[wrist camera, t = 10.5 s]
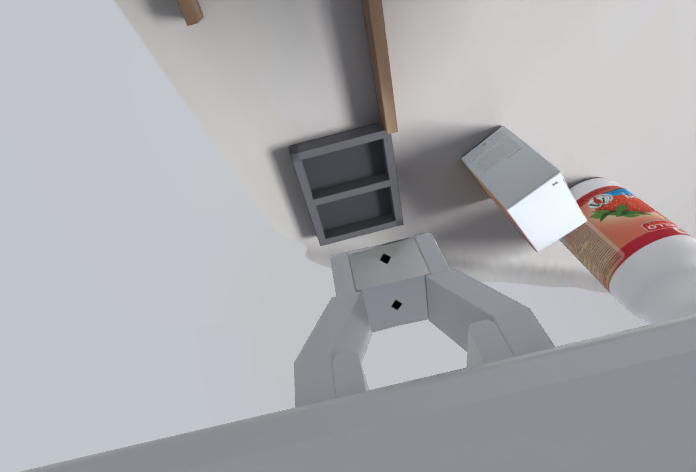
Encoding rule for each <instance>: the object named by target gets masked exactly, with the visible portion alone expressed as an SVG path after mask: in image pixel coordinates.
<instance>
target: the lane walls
mask: <svg viewBox="0 0 696 472" xmlns="http://www.w3.org/2000/svg"><path fill="white" fill-rule="evenodd" d="M177 2H178V4H179V7H180V9H181V11H182V14H183V16H184V18H185V21H186V23H187V26H189V25H192V24H196V23H198V22H199V21H200V20H201V19H202V18H203V17H204V16H203V14H202V11H201V9H200V6H199V3H198V1H197V0H177ZM362 4H363V11H364V17H365V24H366V30H367V37H368V43H369V50H370V56H371V63H372V69H373V76H374V82H375V89H376V96H377V102H378V109H379V115H380V122H381V124H382V126H383V127H384V129H385V131H386V132H387V134H391V133H395V132H398V128H397V120H396V112H395V104H394V96H393V88H392V80H391V72H390V64H389V56H388V48H387V40H386V32H385V24H384V16H383V8H382V0H362Z"/></svg>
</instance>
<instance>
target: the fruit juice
mask: <svg viewBox="0 0 696 472" xmlns="http://www.w3.org/2000/svg"><path fill="white" fill-rule="evenodd" d="M570 191H571V193H572V195H573V197H574V199H575V200H576V202H577V204H578V206H579V208H580V209H581V211H582V213H583V214H584V216H585V217H586V219H587V221H586V222H585V223H583V224H582V225H580V226H579V227H577V228H576V229H574V230H573V231H571V232H569V233H568V234H566V235H565V236H563V237H562V238H560V239H559V240H560V241H561V242H562V243H563V244H564V245H565V246H566V247H567V248H568V249H569V250H570V251H571V253H572V254H573V255H574V256H575V257H576V258H577V259H578V260H579V261H580V262H581V263H582V264H583V265H584V266H585V267H586V268H587V269H588V270H589V271H590V272H591V273H592V275H593V276H594V277H595V278H596V279H597V280H598V281H599V282H600V283H601V284H602V285H603V286H604V287H605V288H606V289H607V290H608V291H609V292H610V294H611V295H612V296H613V297H614V298H615V299H616V300H617V301H618V302H619V303H620V304H621V305H622V306H623V307H625V308H626V309H627V310H628V311H629V312H630V313H632V314H633V315H635V316H637V317H639V318H641V319H643V320H645V321H646V322H647V323H648V324H649V325H651V324H655V323H660V322H664V321H668V320H673V319H677V318H681V317H686V316H690V315H694V314H696V239H695V238H694V237H692V236H691V235H689V234H688V233H686V232H685V231H683V230H682V229H681V228H679V227H678V226H676V225H675V224H674V223H672V222H671V221H669V220H668V219H667V218H665V217H664V216H662V215H661V214H660V213H658V212H657V211H655V210H654V209H653V208H651V207H650V206H648V205H647V204H646V203H644V202H643V201H641V200H640V199H639V198H637V197H636V196H634V195H633V194H632V193H630V192H629V191H627V190H626V189H625V188H623V187H622V186H620V185H619V184H617V183H615V182H613V181H611V180H608V179H604V178H594V179H589V180H586V181H583V182H581V183H579V184H577V185H575V186H573V187H572V188H570Z"/></svg>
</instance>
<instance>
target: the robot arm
mask: <svg viewBox="0 0 696 472" xmlns="http://www.w3.org/2000/svg"><path fill="white" fill-rule="evenodd" d="M348 255H349V256H348ZM331 266H332V271H333V278H334V285H335V291H336V297H333V298H331V300H330V301H329V303H328V305H327V307H326V308H325V310H324V312H323V314H322V315H321V317H320V319H319V321H318V322H317V324H316V326H315V327H314V329H313V331H312V333H311V334H310V336H309V338H308V340H307V341H306V343H305V345H304V347H303V349H302V350H301V352H300V354H299V355H298V357H297V359H296V360H295V362H294V377H295V408H292V409H287V410H283V411H278V412H274V413H270V414H266V415H261V416H257V417H253V418H249V419H244V420H240V421H236V422H231V423H227V424H223V425H219V426H214V427H210V428H206V429H201V430H197V431H193V432H188V433H184V434H180V435H176V436H171V437H167V438H163V439H158V440H154V441H150V442H146V443H141V444H137V445H133V446H128V447H124V448H120V449H115V450H111V451H107V452H103V453H98V454H94V455H90V456H86V457H81V458H77V459H73V460H68V461H64V462H60V463H56V464H51V465H47V466H43V467H38V468H34V469H30V470H26V471H21V472H696V314H694V315H690V316H686V317H681V318H677V319H673V320H668V321H664V322H660V323H655V324H651V325H647V326H643V327H639V328H634V329H630V330H626V331H622V332H617V333H613V334H608V335H605V336H600V337H595V338H591V339H587V340H583V341H578V342H574V343H570V344H565V345H561V346H557V347H555V346H554V344H553V343H552V341H551V340H550V338H549V337H548V335H547V334H546V332H545V331H544V329H543V328H542V326H541V325H540V323H539V322H538V320H537V319H536V317H535V316H534V314H533V313H532V311H531V310H530V308H528V307H526V306H524V305H522V304H520V303H519V302H517V301H515V300H513V299H511V298H509V297H508V296H506V295H504V294H502V293H500V292H498V291H496V290H494V289H493V288H491V287H489V286H487V285H485V284H483V283H481V282H480V281H478V280H476V279H474V278H472V277H470V276H468V275H467V274H465V273H463V272H461V271H459V270H457V269H452V270H450V268H449V266H448V264H447V262H446V260H445V258H444V256H443V254H442V252H441V250H440V248H439V246H438V244H437V242H436V240H435V239H434V237H433V235H432V234H431V233H430V232H428V233H425V234H421V235H417V236H413V237H410V238H406V239H402V240H397V241H393V242H389V243H385V244H381V245H377V246H372V247H367V248H362V249H358V250H353V251H348V252H345V253H340V254H336V255H331ZM427 319H429V321H430V322H431V323H433V324H434V325H435V326H436V327H437V328H439V329H440V330H441V331H442V332H444V333H445V334H446V335H447V336H449V337H450V338H451V339H452V340H453V341H455V342H456V343H457V344H458V345H459V346H461V347H462V348H463V349H464V350H466V351H467V368H463V369H459V370H455V371H450V372H446V373H442V374H437V375H433V376H429V377H424V378H420V379H416V380H412V381H408V382H403V383H399V384H394V385H390V386H386V387H381V388H377V389H373V390H369V388H368V385H367V381H366V378H365V374H364V371H363V368H362V361H363V358H364V355H365V353H366V350H367V347H368V344H369V341H370V339H371V336H372V332H376V331H379V330H383V329H387V328H391V327H395V326H398V325H403V324H408V323H412V322H417V321H422V320H427Z"/></svg>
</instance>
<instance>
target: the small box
mask: <svg viewBox="0 0 696 472" xmlns="http://www.w3.org/2000/svg"><path fill="white" fill-rule="evenodd" d="M461 160H462V161H463V162H464V164H465V165H466V166H467V167H468V169H469V170H470V171H471V172H472V174H473V175H474V176H475V178H476V179H477V180H478V182H479V183H480V184H481V186H482V187H483V188H484V190H485V191H486V192H487V194H488V195H489V196H490V198H491V199H492V200H493V201H494V202H495V203H496V204H497V206H498V207H499V208H500V209H501V210H502V212H503V213H504V214H505V215H506V216H507V218H508V219H509V220H510V221H511V223H512V224H513V225H514V226H515V227H516V229H517V230H518V231H519V232H520V233H521V234H522V236H523V237H524V238H525V239H526V240H527V242H528V243H529V244H530V245H531V246H532V247H533V249H534V250H535V251H536V252H539V251H541V250H542V249H544V248H546V247H547V246H549V245H551V244H552V243H554V242H555V241H557V240H558V239H560V238H562V237H563V236H565V235H566V234H568V233H569V232H571V231H573V230H574V229H576V228H577V227H579V226H580V225H582V224H583V223H585V222H586V221H587V219H586V217H585V216H584V214H583V213H582V211H581V209H580V208H579V206H578V204H577V202H576V200H575V199H574V197H573V195H572V193H571V191H570V189H569V188H568V186H567V184H566V182H565V180H564V177H563V175H562V173H561V171H560V170H558V169H557V168H556V167H555V166H553V165H552V164H551V163H550V162H548V161H547V160H546V159H545V158H543V157H542V156H541V155H540V154H539V153H537V152H536V151H535V150H534V149H532V148H531V147H530V146H529V145H527V144H526V143H525V142H524V141H522V140H521V139H520V138H519V137H517V136H516V135H515V134H514V133H512V132H511V131H510V130H508V129H507V128H506V127H504V126H502V127H500V128H499V129H498V130H497V131H495V132H494V133H493V134H491V135H490V136H489V137H488V138H486V139H485V140H484V141H483V142H481V143H480V144H479V145H478V146H476V147H475V148H474V149H472V150H471V151H470V152H469V153H467V154H466V155H465V156H464V157H462V158H461Z"/></svg>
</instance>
